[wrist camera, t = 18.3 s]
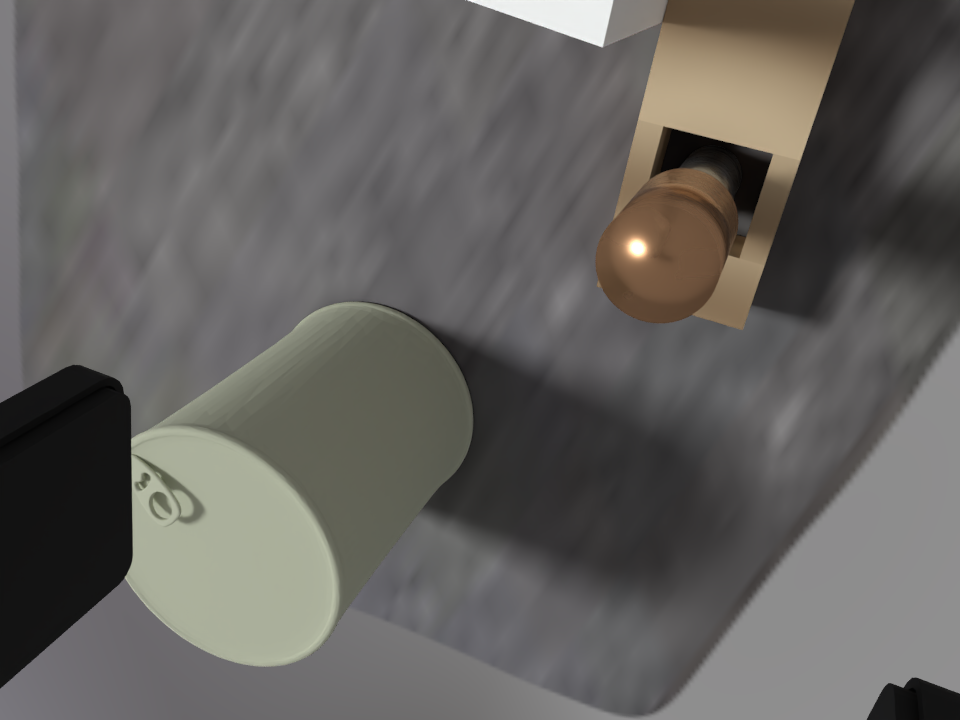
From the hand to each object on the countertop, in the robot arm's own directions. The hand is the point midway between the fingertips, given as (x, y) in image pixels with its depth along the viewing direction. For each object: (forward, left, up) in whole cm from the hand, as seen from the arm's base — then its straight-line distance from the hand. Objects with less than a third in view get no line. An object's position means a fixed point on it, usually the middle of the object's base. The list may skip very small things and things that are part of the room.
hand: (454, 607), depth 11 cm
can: (+13, -11, -24) cm, 29 cm away
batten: (-3, 0, -23) cm, 23 cm away
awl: (0, 0, -23) cm, 23 cm away
